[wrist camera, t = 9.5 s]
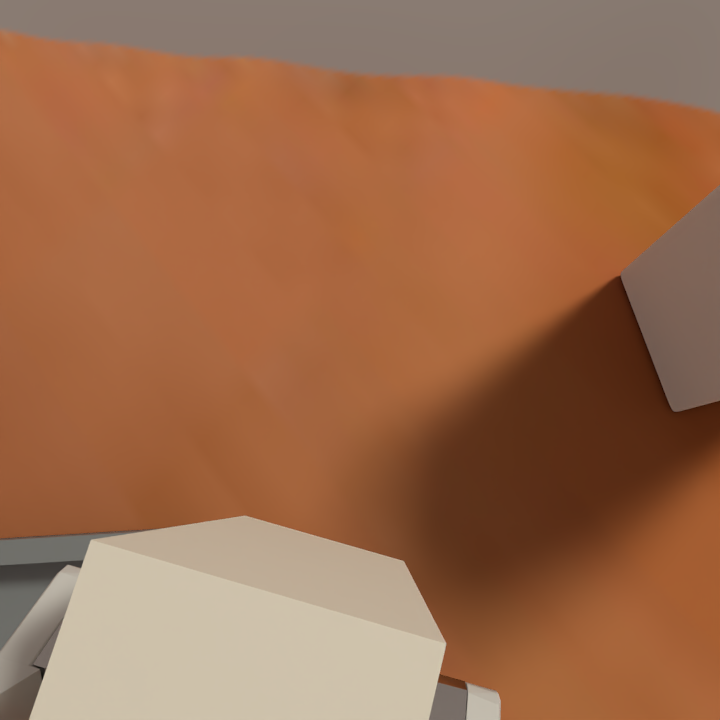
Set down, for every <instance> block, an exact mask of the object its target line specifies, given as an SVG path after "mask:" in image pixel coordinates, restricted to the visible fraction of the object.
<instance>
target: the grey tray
mask: <svg viewBox="0 0 720 720" xmlns="http://www.w3.org/2000/svg"><path fill="white" fill-rule="evenodd" d="M150 530H157V529H147V530H131V531H114V532H98V533H82V534H66V535H49V536H33V537H17V538H1V539H0V650H1V649H2V648H3V646H4V645H5V644H6V642H7V641H8V639H9V638H10V637H11V635H12V634H13V633H14V631H15V630H16V629H17V627H18V626H19V625H20V623H21V622H22V620H23V619H24V618H25V616H26V615H27V614H28V612H29V611H30V610H31V608H32V607H33V606H34V604H35V603H36V602H37V600H38V599H39V597H40V596H41V595H42V593H43V592H44V591H45V589H46V588H47V587H48V585H49V584H50V583H51V581H52V580H53V578H54V577H55V576H56V574H57V573H58V572H60V571H61V570H62V569H63V568H64V567H66V566H67V565H71V566H75V567H78V568H81V567H82V564H83V561H84V558H85V555H86V552H87V550H88V547H89V544H90V541H91V540H92V539H99V538H105V537H112V536H118V535H124V534H131V533H137V532H144V531H150Z"/></svg>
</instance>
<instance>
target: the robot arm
mask: <svg viewBox="0 0 720 720" xmlns="http://www.w3.org/2000/svg"><path fill="white" fill-rule="evenodd" d="M80 570H81V568H78V567H75V566H71V565H67V566H66V567H64V568H63V569H62V570H61V571H60V572H58V573H57V574H56V576H55V577H54V578H53V580H52V581H51V583H50V584H49V585H48V587H47V588H46V589H45V591H44V592H43V593H42V595H41V596H40V597H39V599H38V600H37V602H36V603H35V604H34V606H33V607H32V608H31V610H30V611H29V612H28V614H27V615H26V616H25V618H24V619H23V620H22V622H21V623H20V625H19V626H18V627H17V629H16V630H15V631H14V633H13V634H12V635H11V637H10V638H9V639H8V641H7V642H6V644H5V645H4V646H3V648H2V649H1V650H0V720H29V718H30V715H31V712H32V709H33V706H34V704H35V701H36V698H37V695H38V692H39V689H40V686H41V683H42V680H43V677H44V675H45V672H46V669H47V666H48V663H49V660H50V657H51V654H52V651H53V648H54V645H55V643H56V640H57V637H58V634H59V631H60V628H61V625H62V622H63V619H64V616H65V613H66V611H67V608H68V605H69V602H70V599H71V596H72V593H73V590H74V587H75V584H76V582H77V579H78V576H79V573H80ZM500 711H501V701H500V698H499V695H498V693H497V691H495V690H491V689H488V688H484V687H481V686H477V685H474V684H470V683H467V682H465V681H462V680H459V679H455V678H451V677H448V676H444V675H441V674H439V678H438V682H437V686H436V691H435V695H434V699H433V704H432V708H431V712H430V717H429V720H500Z"/></svg>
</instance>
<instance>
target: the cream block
mask: <svg viewBox="0 0 720 720" xmlns="http://www.w3.org/2000/svg"><path fill="white" fill-rule="evenodd" d="M445 648H446V642H445V640H444V638H443V636H442V634H441V632H440V630H439V629H438V627H437V625H436V623H435V621H434V619H433V617H432V615H431V613H430V611H429V609H428V607H427V605H426V603H425V601H424V599H423V597H422V595H421V594H420V592H419V590H418V588H417V586H416V584H415V582H414V580H413V578H412V576H411V574H410V572H409V570H408V568H407V566H406V564H405V562H404V561H402V560H399V559H395V558H392V557H388V556H385V555H381V554H378V553H374V552H371V551H367V550H364V549H360V548H357V547H353V546H350V545H346V544H342V543H339V542H335V541H332V540H328V539H325V538H321V537H318V536H314V535H311V534H307V533H304V532H300V531H297V530H293V529H290V528H286V527H283V526H279V525H276V524H272V523H269V522H265V521H262V520H258V519H255V518H251V517H248V516H240V517H234V518H227V519H221V520H215V521H208V522H202V523H195V524H189V525H182V526H176V527H169V528H163V529H157V530H150V531H144V532H137V533H131V534H124V535H118V536H112V537H105V538H99V539H92V540H91V541H90V544H89V547H88V550H87V552H86V555H85V558H84V561H83V564H82V567H81V570H80V573H79V576H78V579H77V582H76V584H75V587H74V590H73V593H72V596H71V599H70V602H69V605H68V608H67V611H66V613H65V616H64V619H63V622H62V625H61V628H60V631H59V634H58V637H57V640H56V643H55V645H54V648H53V651H52V654H51V657H50V660H49V663H48V666H47V669H46V672H45V675H44V677H43V680H42V683H41V686H40V689H39V692H38V695H37V698H36V701H35V704H34V706H33V709H32V712H31V715H30V718H29V720H429V717H430V712H431V708H432V704H433V699H434V695H435V691H436V686H437V682H438V678H439V674H440V669H441V665H442V661H443V656H444V652H445Z"/></svg>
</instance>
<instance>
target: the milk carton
mask: <svg viewBox="0 0 720 720" xmlns="http://www.w3.org/2000/svg"><path fill="white" fill-rule="evenodd" d="M621 279H622V282H623V285H624V287H625V290H626V293H627V295H628V298H629V301H630V303H631V306H632V308H633V311H634V314H635V316H636V319H637V321H638V324H639V327H640V329H641V332H642V335H643V337H644V340H645V342H646V345H647V348H648V350H649V353H650V355H651V358H652V361H653V363H654V366H655V368H656V371H657V374H658V376H659V379H660V382H661V384H662V387H663V389H664V392H665V395H666V397H667V400H668V402H669V405H670V407H671V409H672V410H673V411H674V412H679V411H683V410H687V409H690V408H694V407H698V406H702V405H705V404H709V403H713V402H717V401H720V185H719V186H718V187H717V188H716V189H715V190H713V191H712V192H711V193H710V194H709V195H708V196H707V197H706V198H704V199H703V200H702V201H701V202H700V203H699V204H698V205H696V206H695V207H694V208H693V209H692V210H691V211H690V212H689V213H687V214H686V215H685V216H684V217H683V218H682V219H681V220H679V221H678V222H677V223H676V224H675V225H674V226H673V227H672V228H670V229H669V230H668V231H667V232H666V233H665V234H664V235H662V236H661V237H660V238H659V239H658V240H657V241H656V242H655V243H653V244H652V245H651V246H650V247H649V248H648V249H647V250H645V251H644V252H643V253H642V254H641V255H640V256H639V257H638V258H636V259H635V260H634V261H633V262H632V263H631V264H630V265H629V266H627V267H626V268H625V269H624V270H623V271H622V272H621Z"/></svg>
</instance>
